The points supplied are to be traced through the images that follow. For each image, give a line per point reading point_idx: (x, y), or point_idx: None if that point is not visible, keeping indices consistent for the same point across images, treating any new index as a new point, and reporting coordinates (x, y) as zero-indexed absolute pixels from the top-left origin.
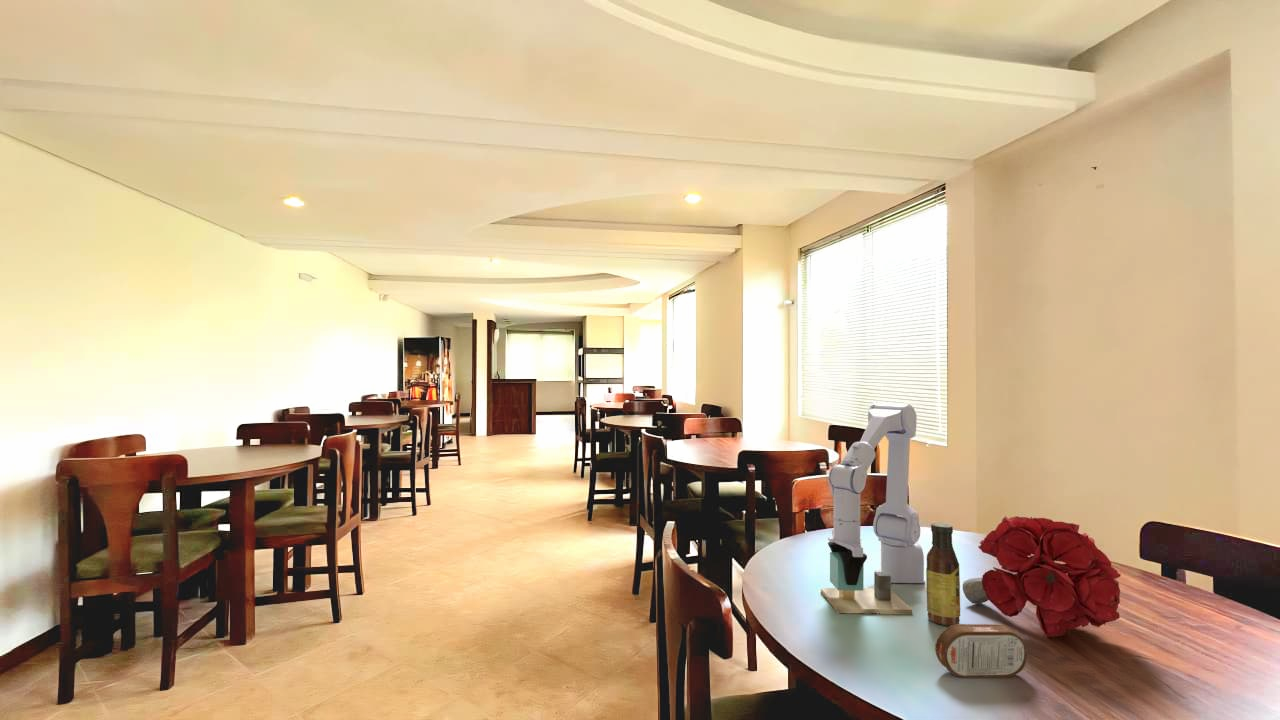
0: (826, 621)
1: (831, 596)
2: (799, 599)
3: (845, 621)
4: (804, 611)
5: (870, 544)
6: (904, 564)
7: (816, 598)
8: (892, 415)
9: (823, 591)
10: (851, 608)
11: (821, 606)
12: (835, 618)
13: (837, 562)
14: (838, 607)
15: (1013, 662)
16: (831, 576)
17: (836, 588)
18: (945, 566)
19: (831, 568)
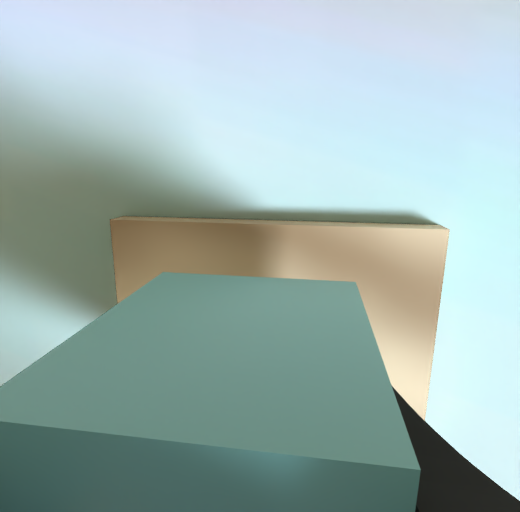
0: (22, 121)
1: (292, 248)
2: (325, 37)
3: (38, 221)
4: (135, 24)
5: None
6: None
7: (338, 163)
8: None
9: (387, 227)
10: (123, 296)
11: (215, 156)
12: (65, 183)
13: (17, 389)
14: (129, 230)
15: None
16: (315, 297)
17: (196, 274)
18: None
19: (314, 328)
